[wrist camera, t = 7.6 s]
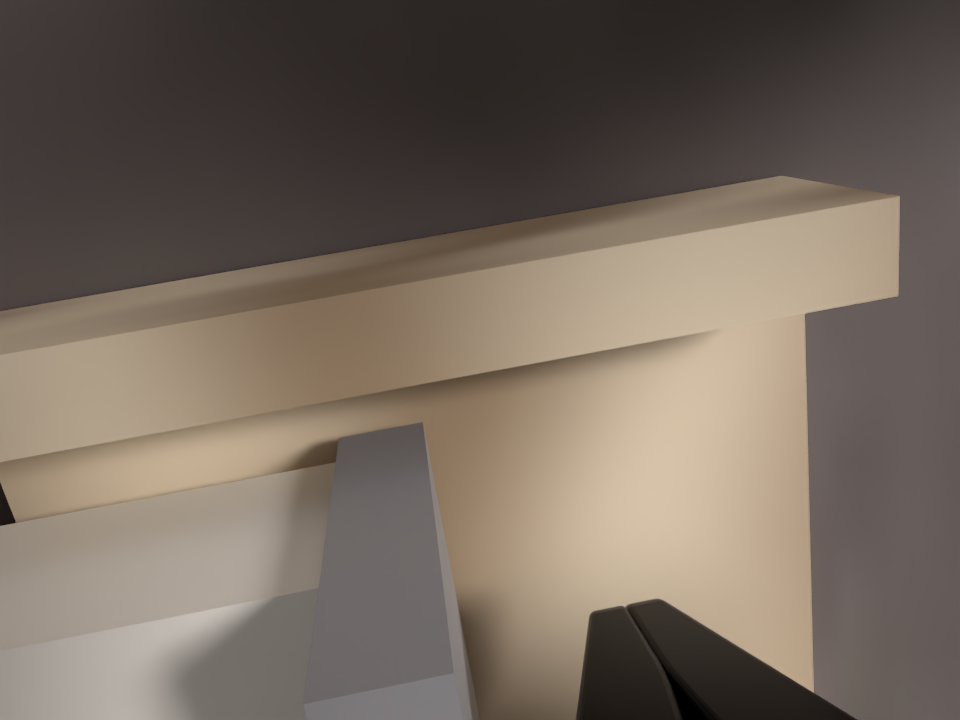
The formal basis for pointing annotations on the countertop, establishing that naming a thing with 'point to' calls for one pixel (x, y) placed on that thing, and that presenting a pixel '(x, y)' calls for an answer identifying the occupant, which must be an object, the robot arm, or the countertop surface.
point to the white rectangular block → (243, 600)
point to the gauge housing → (496, 406)
